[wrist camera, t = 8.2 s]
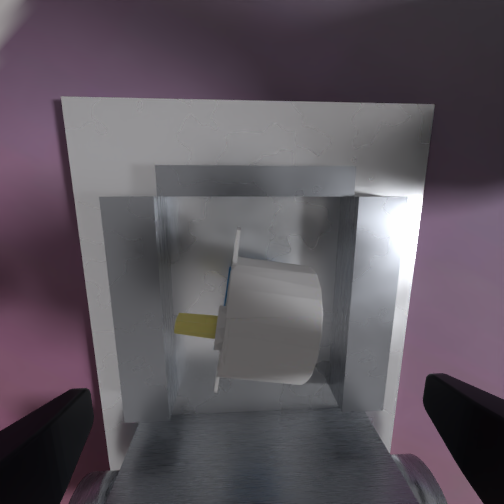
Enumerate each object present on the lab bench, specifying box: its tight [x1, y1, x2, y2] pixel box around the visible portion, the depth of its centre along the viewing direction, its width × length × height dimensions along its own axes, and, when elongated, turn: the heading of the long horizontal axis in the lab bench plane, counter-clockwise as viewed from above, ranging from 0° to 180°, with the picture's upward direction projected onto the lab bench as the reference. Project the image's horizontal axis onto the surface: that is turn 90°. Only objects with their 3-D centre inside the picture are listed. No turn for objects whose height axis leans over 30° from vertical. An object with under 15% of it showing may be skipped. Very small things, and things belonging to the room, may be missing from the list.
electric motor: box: [174, 227, 323, 393], centre depth 11 cm, size 7×5×5 cm
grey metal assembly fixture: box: [61, 97, 447, 504], centre depth 11 cm, size 16×22×8 cm
